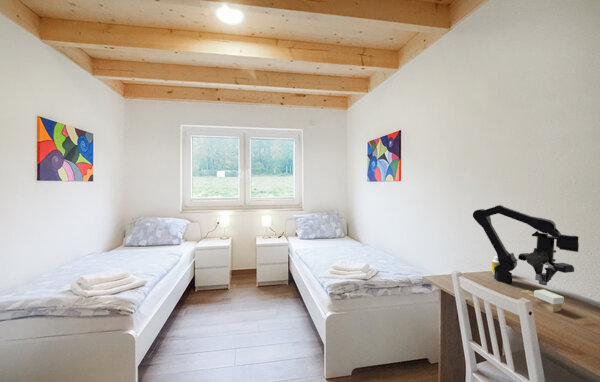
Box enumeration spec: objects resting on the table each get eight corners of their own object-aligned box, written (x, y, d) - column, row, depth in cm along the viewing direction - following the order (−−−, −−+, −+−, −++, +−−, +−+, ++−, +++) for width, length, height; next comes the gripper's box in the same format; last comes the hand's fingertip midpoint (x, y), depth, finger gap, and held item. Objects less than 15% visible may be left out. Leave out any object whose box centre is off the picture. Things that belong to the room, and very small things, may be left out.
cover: (533, 296, 104) (534, 290, 104) (543, 295, 105) (543, 289, 105) (553, 304, 97) (553, 298, 97) (563, 303, 98) (563, 297, 98)
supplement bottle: (502, 278, 134) (503, 259, 133) (489, 274, 139) (490, 256, 138) (506, 276, 137) (507, 257, 136) (493, 272, 142) (494, 254, 141)
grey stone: (545, 282, 118) (545, 272, 118) (552, 284, 115) (552, 274, 115) (533, 283, 117) (534, 273, 116) (540, 285, 114) (541, 275, 114)
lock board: (507, 295, 114) (507, 285, 114) (529, 292, 117) (530, 283, 117) (551, 315, 98) (552, 303, 97) (576, 311, 100) (576, 300, 100)
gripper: (510, 242, 122) (508, 274, 123) (556, 254, 104) (554, 290, 105) (528, 241, 125) (526, 272, 126) (576, 252, 106) (573, 288, 107)
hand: (543, 280), depth 116 cm, fingers closed on grey stone, 3 cm apart
